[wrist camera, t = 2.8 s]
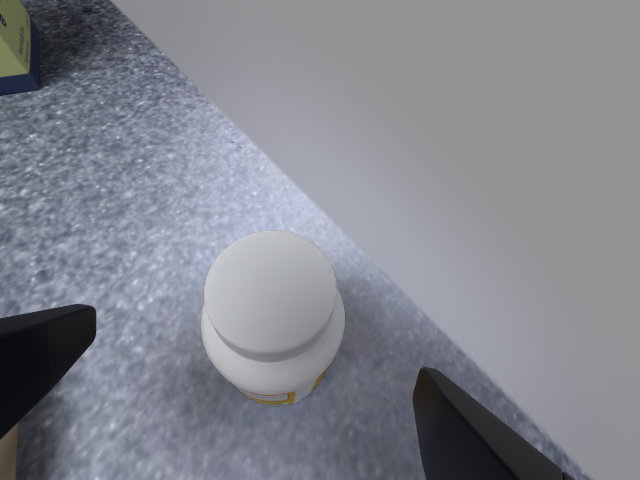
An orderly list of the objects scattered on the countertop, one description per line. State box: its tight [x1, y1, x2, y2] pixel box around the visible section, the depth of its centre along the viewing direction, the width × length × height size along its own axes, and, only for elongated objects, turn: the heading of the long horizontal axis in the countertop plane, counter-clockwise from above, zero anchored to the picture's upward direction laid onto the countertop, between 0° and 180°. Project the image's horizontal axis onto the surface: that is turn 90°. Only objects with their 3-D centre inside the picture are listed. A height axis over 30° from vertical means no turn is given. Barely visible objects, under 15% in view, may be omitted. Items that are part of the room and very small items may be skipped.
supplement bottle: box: [201, 230, 345, 407], centre depth 14 cm, size 5×5×10 cm
